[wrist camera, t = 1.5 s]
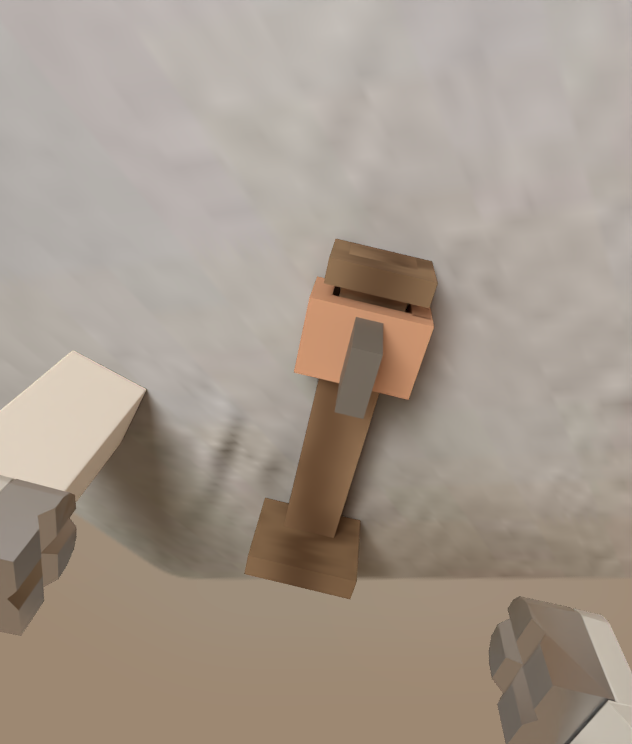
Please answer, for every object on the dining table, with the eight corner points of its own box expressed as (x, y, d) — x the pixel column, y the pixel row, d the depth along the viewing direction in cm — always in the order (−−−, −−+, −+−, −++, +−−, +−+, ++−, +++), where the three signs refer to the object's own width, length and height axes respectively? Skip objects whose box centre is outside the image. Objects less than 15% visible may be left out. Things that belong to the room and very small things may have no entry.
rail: (447, 265, 31) (460, 300, 26) (354, 537, 43) (350, 599, 38) (319, 234, 31) (306, 264, 26) (261, 515, 43) (244, 573, 38)
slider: (429, 303, 32) (440, 359, 25) (406, 370, 35) (411, 438, 28) (317, 276, 32) (299, 325, 26) (302, 346, 35) (282, 407, 28)
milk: (73, 348, 37) (-259, 617, 18) (148, 388, 38) (-91, 686, 19) (51, 407, 40) (-256, 694, 21) (122, 443, 41) (-110, 750, 22)
